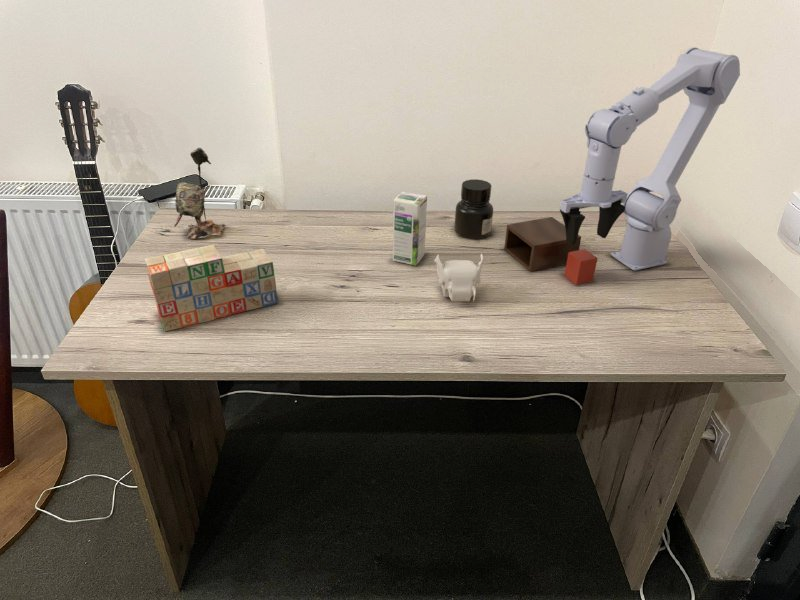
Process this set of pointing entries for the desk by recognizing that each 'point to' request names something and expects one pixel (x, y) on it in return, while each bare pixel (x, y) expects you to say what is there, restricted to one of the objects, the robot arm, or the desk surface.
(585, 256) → the block
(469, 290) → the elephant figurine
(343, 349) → the desk surface
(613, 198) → the robot arm
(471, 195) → the ink bottle
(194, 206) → the brown bird figurine
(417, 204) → the syrup box
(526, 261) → the brown open wooden box
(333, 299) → the desk surface
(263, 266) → the stack of blocks
